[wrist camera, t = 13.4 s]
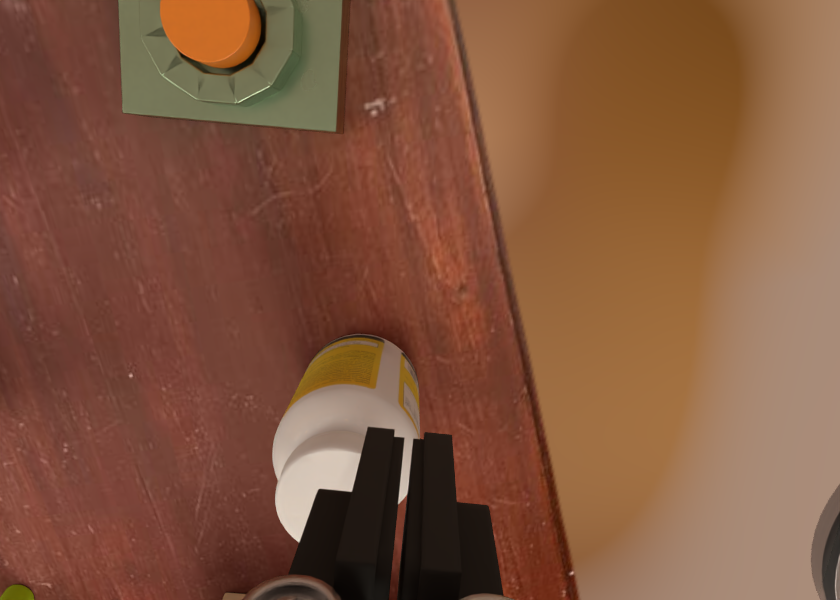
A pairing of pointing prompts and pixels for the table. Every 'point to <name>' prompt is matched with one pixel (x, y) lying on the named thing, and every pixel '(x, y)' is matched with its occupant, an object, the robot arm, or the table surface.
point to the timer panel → (233, 596)
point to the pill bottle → (342, 421)
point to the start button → (212, 29)
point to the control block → (242, 69)
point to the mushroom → (17, 593)
